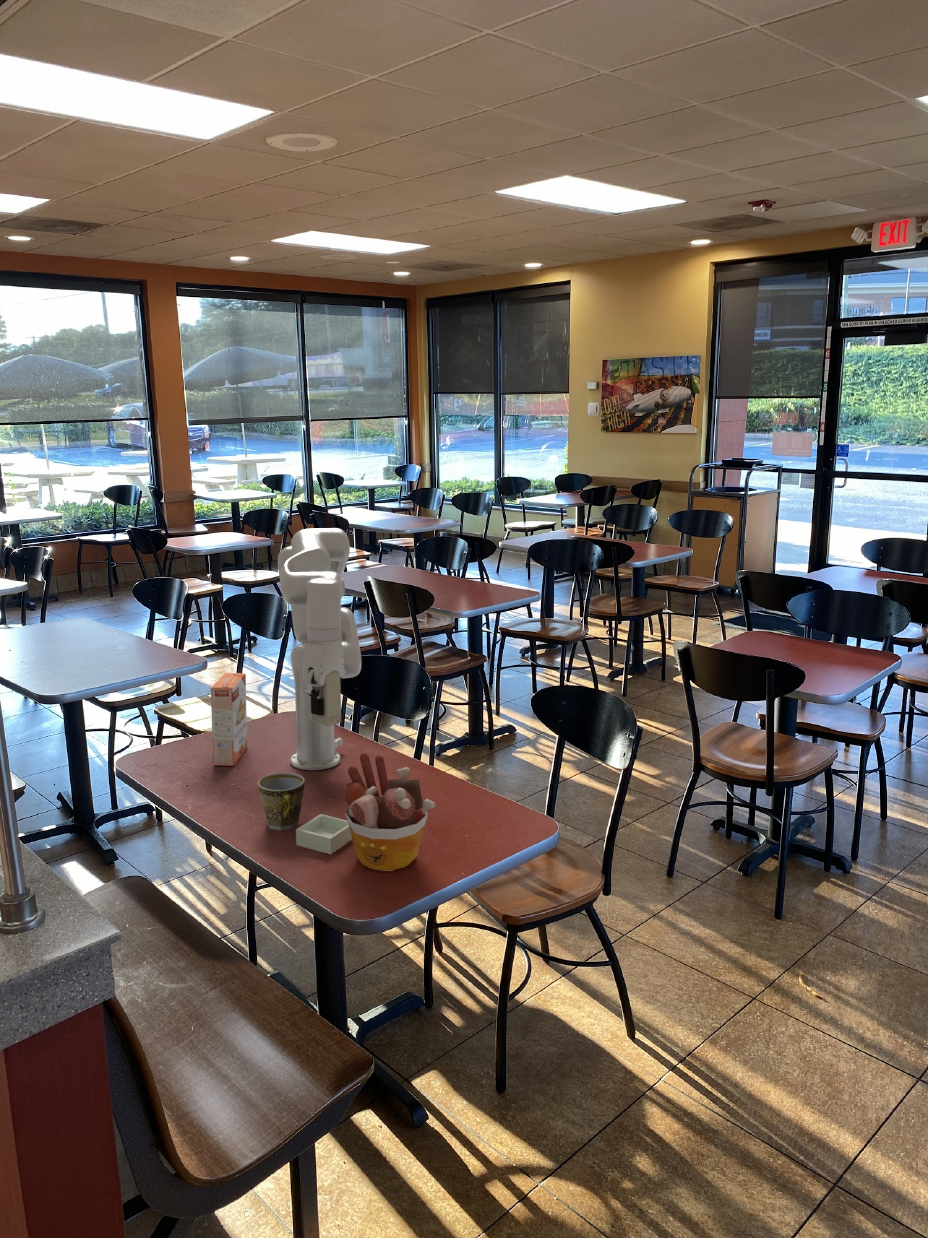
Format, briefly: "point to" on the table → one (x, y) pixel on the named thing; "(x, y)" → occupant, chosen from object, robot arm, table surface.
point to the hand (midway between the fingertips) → (325, 709)
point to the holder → (324, 834)
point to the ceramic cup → (282, 799)
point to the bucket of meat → (385, 816)
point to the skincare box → (330, 701)
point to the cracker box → (229, 719)
